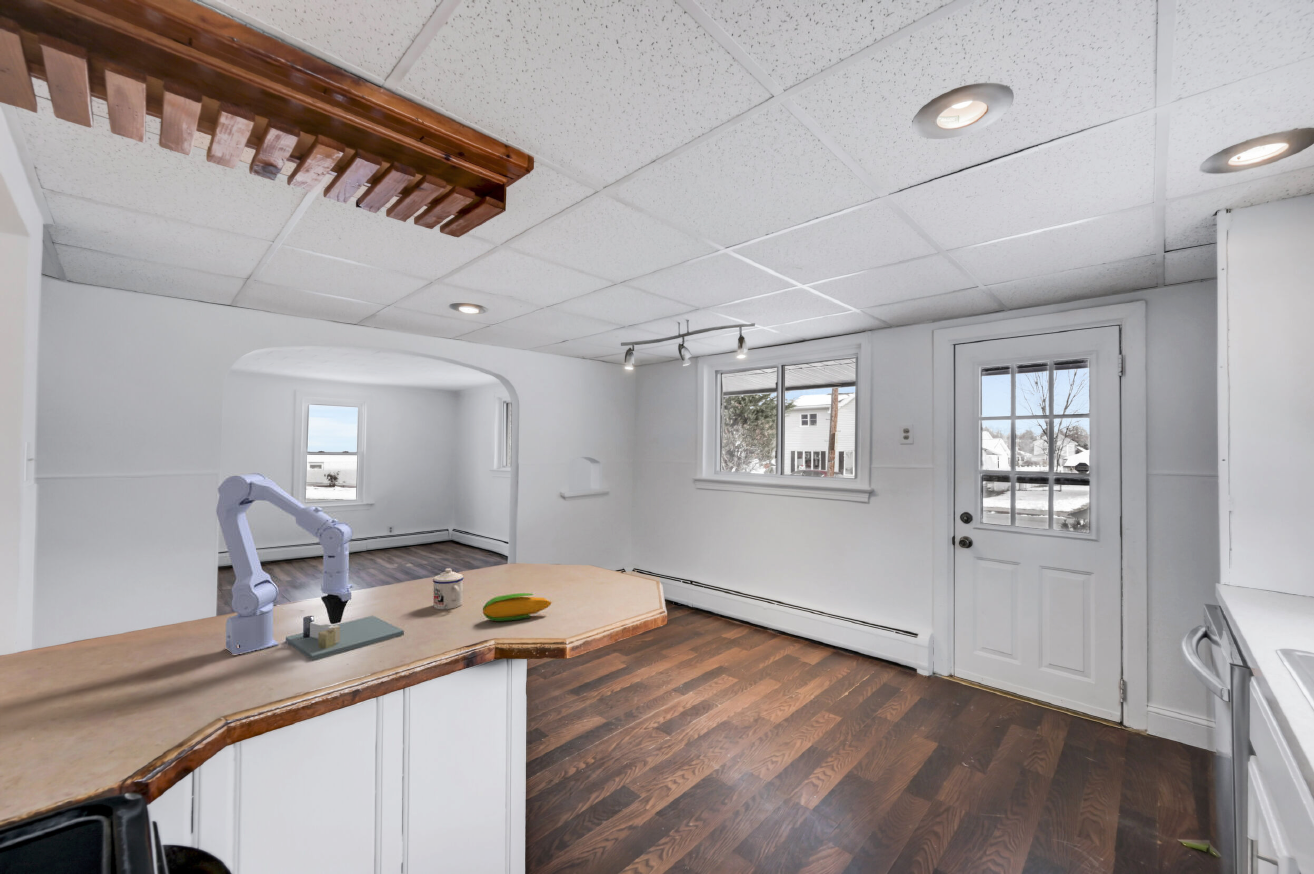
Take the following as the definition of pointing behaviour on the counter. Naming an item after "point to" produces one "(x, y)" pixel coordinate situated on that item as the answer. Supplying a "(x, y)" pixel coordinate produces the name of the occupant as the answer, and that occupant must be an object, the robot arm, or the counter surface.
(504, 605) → the corn
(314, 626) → the gate
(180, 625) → the counter surface
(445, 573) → the teacup with lid
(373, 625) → the base board
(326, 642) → the gate posts
